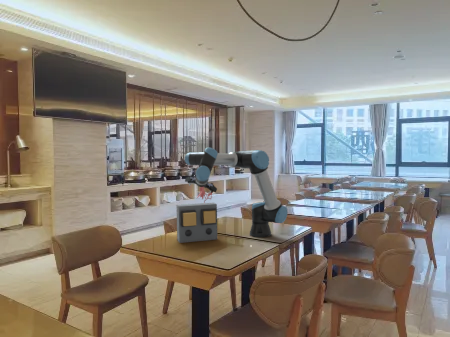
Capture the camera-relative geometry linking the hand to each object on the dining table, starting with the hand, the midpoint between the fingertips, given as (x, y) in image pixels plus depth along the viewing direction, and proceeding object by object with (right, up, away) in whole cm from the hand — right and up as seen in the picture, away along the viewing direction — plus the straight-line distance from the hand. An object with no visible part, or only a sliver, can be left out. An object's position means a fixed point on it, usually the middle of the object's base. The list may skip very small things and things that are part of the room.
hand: (200, 187), depth 221 cm
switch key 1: (-7, -24, +4) cm, 26 cm away
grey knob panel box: (-3, -36, +15) cm, 39 cm away
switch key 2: (+5, -24, +12) cm, 27 cm away
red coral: (-2, -35, +56) cm, 66 cm away
